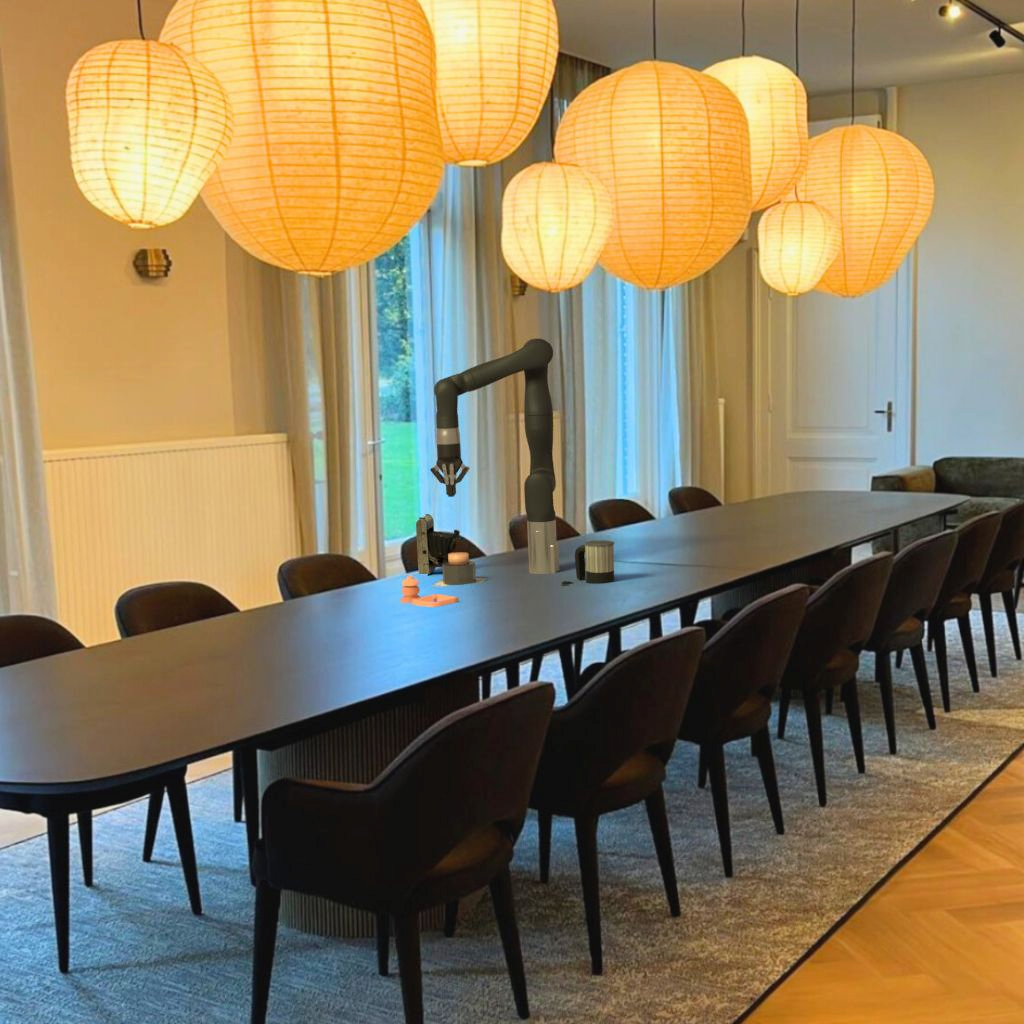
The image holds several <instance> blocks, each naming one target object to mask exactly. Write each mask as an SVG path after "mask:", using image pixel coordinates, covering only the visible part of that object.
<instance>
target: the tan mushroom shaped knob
mask: <svg viewBox="0 0 1024 1024" xmlns="http://www.w3.org/2000/svg"><path fill="white" fill-rule="evenodd" d="M469 556H470V555H469V552H467V551H466V552H465V551H463V552H462V551H458V552H457V551H455V552H453V553H452V552H450V553H449V554H448V563H449V564H450V565H464V564H468V563H469V561H470V559H469V558H470V557H469Z"/></svg>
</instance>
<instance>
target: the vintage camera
mask: <svg viewBox="0 0 1024 1024" xmlns="http://www.w3.org/2000/svg"><path fill="white" fill-rule="evenodd" d="M434 524H435V523H434V517H433V516H432V515H431V514H430V513H425V515H424V516H423V517H419V518H418V519H417V521H416V522H415V532H416V533H415V534H416V550H417V551H416V552H417V563H418V564H417V565H418V574H419V575H420V574H429V575H431V574H432V573H433V572H435V570H436V568H442V564H443V563H445V562H448V554H449V553H454V551H455V550H456V547H457V542H458V541H457V538H459V537H460V534H461V532H460V530H459V529H454V530H453V534H452V535H450V534H449V533H445V532H441V531H436V530H435V525H434ZM431 572H432V573H431ZM430 573H431V574H430Z"/></svg>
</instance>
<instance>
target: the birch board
mask: <svg viewBox="0 0 1024 1024" xmlns="http://www.w3.org/2000/svg"><path fill="white" fill-rule="evenodd" d="M487 580H488V578H487V577H476V582H474V583H473V584H475V583H481V582H485V581H487ZM433 585H435V586H433ZM438 585H441V586H440V587H449V586H451V585H447V584H444V583H443V579H441V580H439V581H437V582H436V583H434V584H432V585H431V587H439V586H438Z"/></svg>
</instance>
